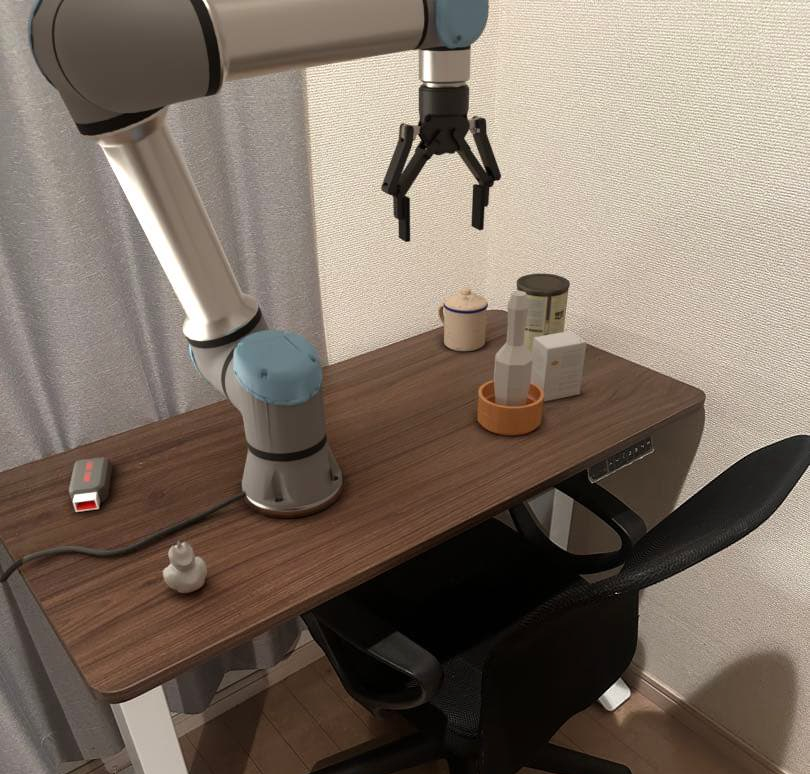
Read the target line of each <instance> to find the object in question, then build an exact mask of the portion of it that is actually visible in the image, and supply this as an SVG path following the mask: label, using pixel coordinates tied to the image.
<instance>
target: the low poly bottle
mask: <svg viewBox="0 0 810 774" xmlns="http://www.w3.org/2000/svg"><path fill="white" fill-rule="evenodd" d="M506 306H507V330H506V342H505V343H504V344H503V345H502V346H501V348H499V350H498V351H497V352H496V354H495V356H494V370H493V371H494V372H493V380H494V388H495V404H498V405H502V406H509V407H519V406H525V405H526V400H527V396H528V392H529V387H530V382H531V372H532V362H533V359H532V355H531V353H530V351H529V350H528V348H527V347H526V345H525V344H524V335H525V325H526V319H527V314H528V308H529V306H528V301H527V296H526V292H523V291H517V290H515V291H512V292H511V293H510V297H509V299H508V302H507V305H506Z"/></svg>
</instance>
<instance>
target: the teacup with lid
mask: <svg viewBox="0 0 810 774" xmlns="http://www.w3.org/2000/svg"><path fill="white" fill-rule="evenodd" d="M488 307H489V303H488V299H486V297H484V296H482V295H480V294H477V293H475V292H473V291H472V289H471V288H470V287H467V286H466V287H465V286H464V287H462V288H461V290H460V291H459V292H457V293H455V294H451V295H449V296H447V297H446V298H444V301H443V302H442V303H440V304H439V305H438V308H437V316H438V319H439V321H440V323H441V324H442V326H444V327H443V344H444V345H445V347H447V348H449V349H451V350H452V351H457V352H472V351H477V350H479V349H481V348H482V347H484V346H485V343H486V330H487V328H486V327H487V310H488V309H487V308H488Z"/></svg>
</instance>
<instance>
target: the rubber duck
mask: <svg viewBox="0 0 810 774" xmlns="http://www.w3.org/2000/svg"><path fill="white" fill-rule="evenodd" d="M167 555H168V559H169V563H170V564H169V565H168V566H167V567H165V568H164V569H163V570H162V577H163V579H164V582H165V583H166V585H167V586H168V587H169V588H170V589H172V590H175V591H176V592H178V593H181V594H189V593H193V592H195V591H197V590H199V589H200V588H202V587H203V586H204V584H205V580H206V578H207V576H208V567H207V564H206V562H205V560H204V559H203V558H202V557H200V556H196V554H195V553H194V548H193V547H192V546H191V545H190V544H189V543H188V542H186V541H183V542H181V541H180V539H178V540H177V543H176V544H175V545H172V546H171V547H170V549H169V550H168V554H167Z"/></svg>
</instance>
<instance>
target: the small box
mask: <svg viewBox="0 0 810 774" xmlns="http://www.w3.org/2000/svg"><path fill="white" fill-rule="evenodd" d="M586 349H587V341H586V340H585V339H583V338H582V337H580V336H579V335H578V334H576V333H575V332H574V331H572V330H567V331H564V332H561V333H555V334H550V335H544V336H539V337H534V338H533V348H532V359H533V362H532V372H531V382H532V383H534V384H536V385H538V386H539V387H540V388H542V389H543V391H544V394H545V396H544V403H545V402H549V401H554V400H558V399H559V400H560V399H565V398H569V397H574V396H579V395H580V394H581V388H582V387H581V386H582V380H583V373H584V364H585V359H586V358H585V357H586Z"/></svg>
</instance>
